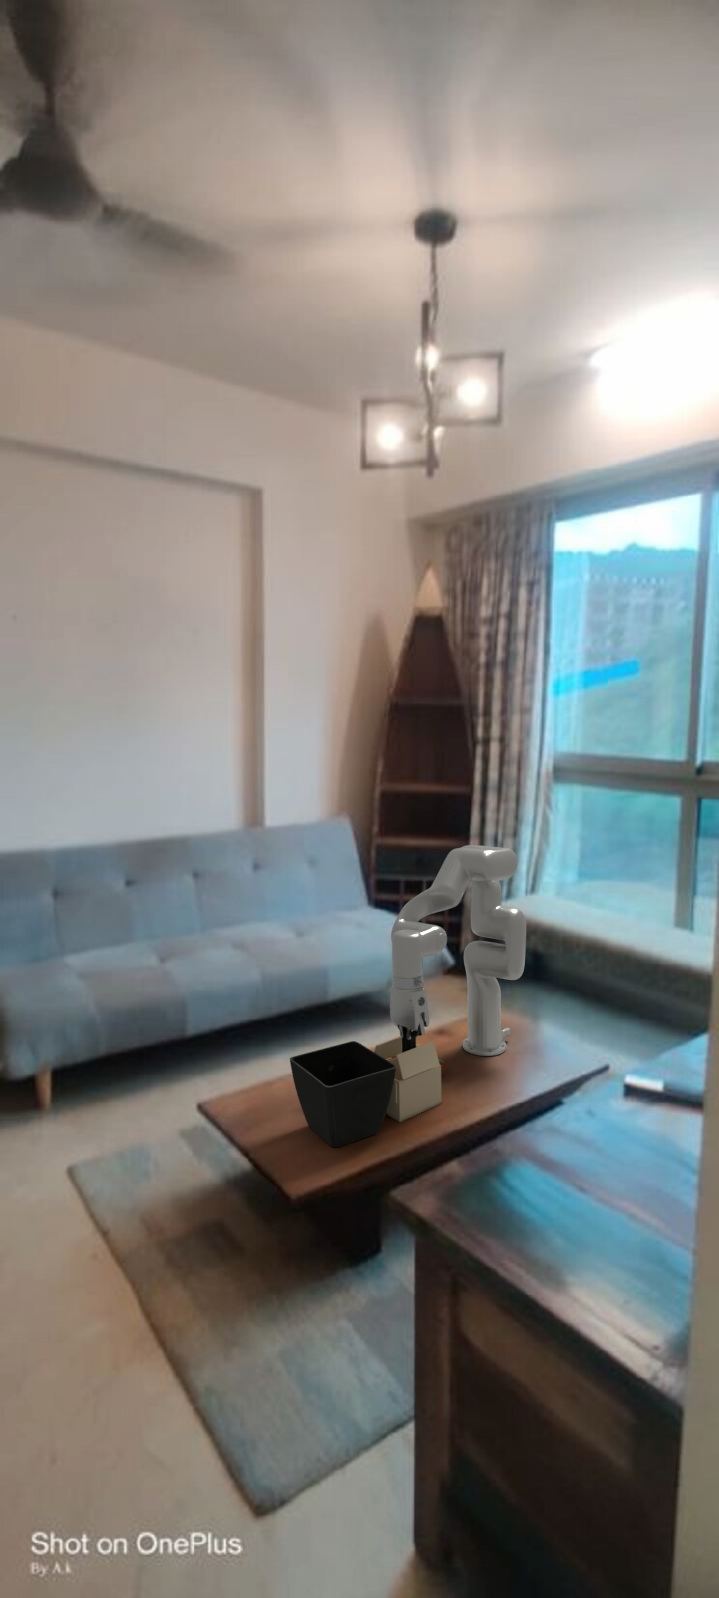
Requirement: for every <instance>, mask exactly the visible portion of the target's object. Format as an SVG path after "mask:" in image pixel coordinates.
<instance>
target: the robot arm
mask: <svg viewBox="0 0 719 1598" xmlns="http://www.w3.org/2000/svg"><path fill="white" fill-rule="evenodd" d="M517 869H518V856H517V854H516V853H515V851H513V850H512V849H511V848H509V847H508V848H507V847H500V846H499V847H497V846H487V845H476V844H474V845H471V844H469V845H463V846H462V847H458V848H457V847H456V848H454V849H452V850H451V851H449V852H448V854H447V856H446V857H445V859H444V861H443V863H442V865H441V867H440V869H439V871H438V873H437V875H436V877H435V879H434V880H433V882H432V883H431V886H430V887H429V888H428V889H426V890H424V891H421V892H420V893H419V894H418V895H415V896H414V897H412V898H411V899H410V900H409V901H408V902H406V904H404V906H403V907H402V908H401V910H400V911H399V913H398V915H397V918H396V919H395V921H394V923H393V926H392V929H391V933H390V940H391V957H392V959H391V961H392V963H391V965H392V967H391V968H392V985H391V989H390V998H389V999H390V1000H389V1014H390V1015H389V1016H390V1017H389V1018H390V1019H391V1021H392V1023H393V1025H395V1026H396V1028H397V1029H398V1030H399V1036H401V1037H403V1038H402V1053H403V1052H406V1051H408V1050H411V1049H413V1048H416V1042H417V1039H416V1038H418V1036H419V1037H422V1036H425V1035H426V1030H425V1027H426V1028H427V1027H429V1026H430V1009H429V1000H428V994H427V989H426V988H425V987H424V986H425V982H424V958H427V957H432V956H436V955H438V954H440V953H441V952H443V950H444V949H445V948H446V947H447V944H448V943H447V942H448V935H447V932H446V931H445V929H444V928H443V927H441V926H439V925H436V924H430V923H425V922H420V920H421V919H423V918H425V917H426V916H428V915H432V914H436V913H439V912H442V911H447V910H449V909H452V908H455V907H457V906H458V905H459V904H460V902H461V901H462V898H463V896H464V894H465V892H466V890H467V888H468V886H469V884H470V887H471V888H470V889H471V901H470V902H471V903H470V904H471V905H470V928H471V931H472V933H473V934H474V935H476V936H479V937H482V938H488V939H495V940H501V941H504V944H503V943H497V942H491V941H485V940H474V941H471V942H469V943H468V944H467V945H466V946H465V948H464V952H463V964H464V968H465V972H466V973H465V974H466V982H467V986H466V987H467V1038H465V1039H464V1040H462V1048H463V1049H464V1051H465V1052H468V1053H469V1054H472V1055H476V1056H483V1057H490V1056H497V1055H501V1054H503V1053H504V1052H506V1050H507V1043H506V1041H505V1040H504V1039H503V1038H504V1037H505V1036H507V1035H510V1034H511V1033H512V1030H511V1028H510V1027H505V1028H503V1029H502V1028H501V1027H502V1025H501V1024H502V1023H501V1021H502V1020H501V1019H502V1018H501V1017H502V1014H501V1013H502V1012H501V1008H502V1006H501V1003H502V1001H501V999H502V998H501V995H502V992H501V986H500V984H499V981H498V979H504V980H510V981H516V980H519V979H520V978H521V977H522V975H523V973H524V969H525V962H526V945H527V919H526V917H525V914H524V912H523V911H521V909H519V908H517V907H512V906H505V905H504V906H503V905H502V886H501V885H502V884H501V883H500V881H505V880H508V879H511V877H513V876H514V874H515V873H516V871H517ZM497 978H498V979H497Z"/></svg>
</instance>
